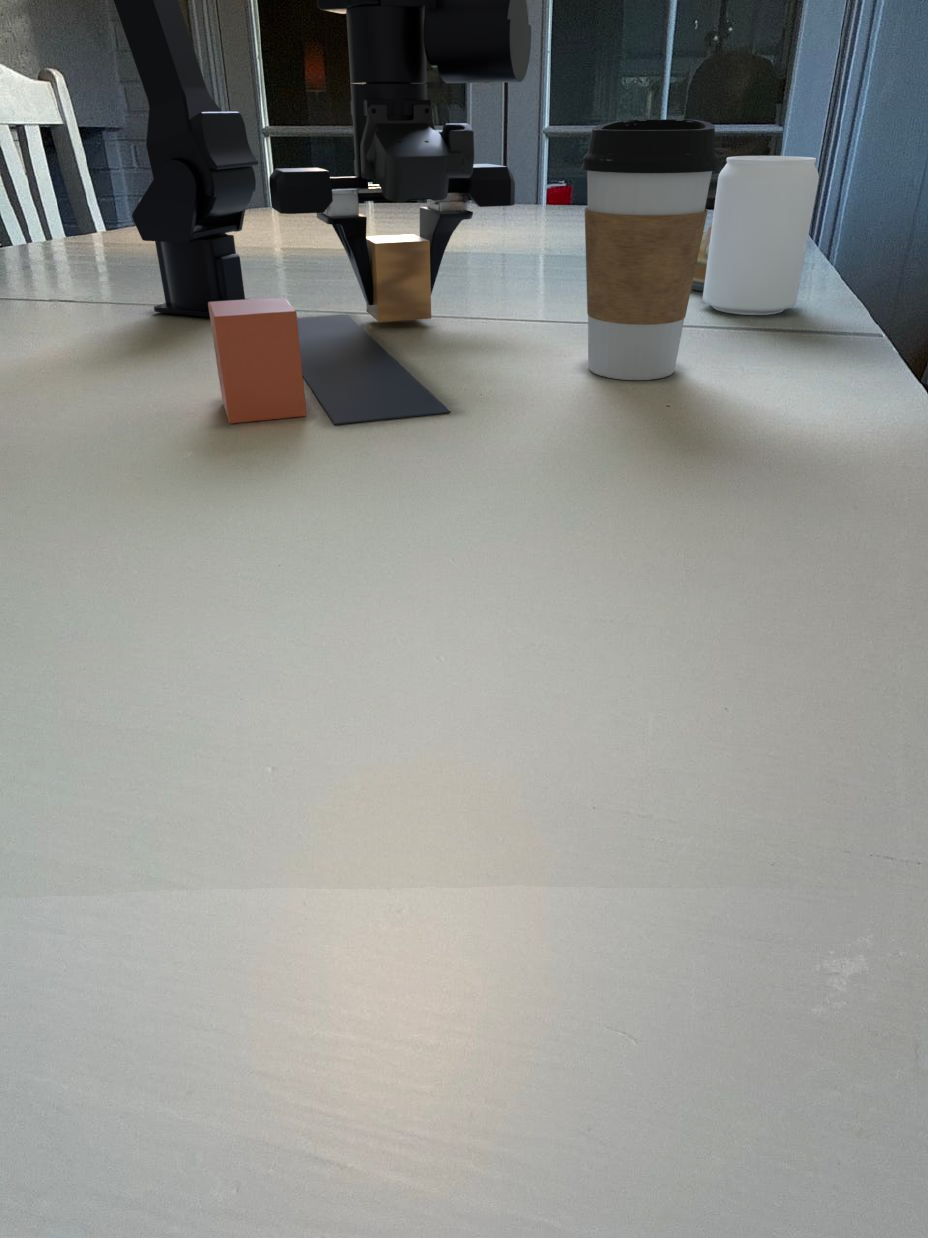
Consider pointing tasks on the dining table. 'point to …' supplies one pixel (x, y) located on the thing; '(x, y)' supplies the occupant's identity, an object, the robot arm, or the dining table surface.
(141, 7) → the robot arm
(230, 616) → the dining table surface
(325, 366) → the line strip
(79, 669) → the dining table surface
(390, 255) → the wood block
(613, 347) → the coffee cup
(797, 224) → the beverage can
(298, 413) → the terracotta block
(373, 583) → the dining table surface
